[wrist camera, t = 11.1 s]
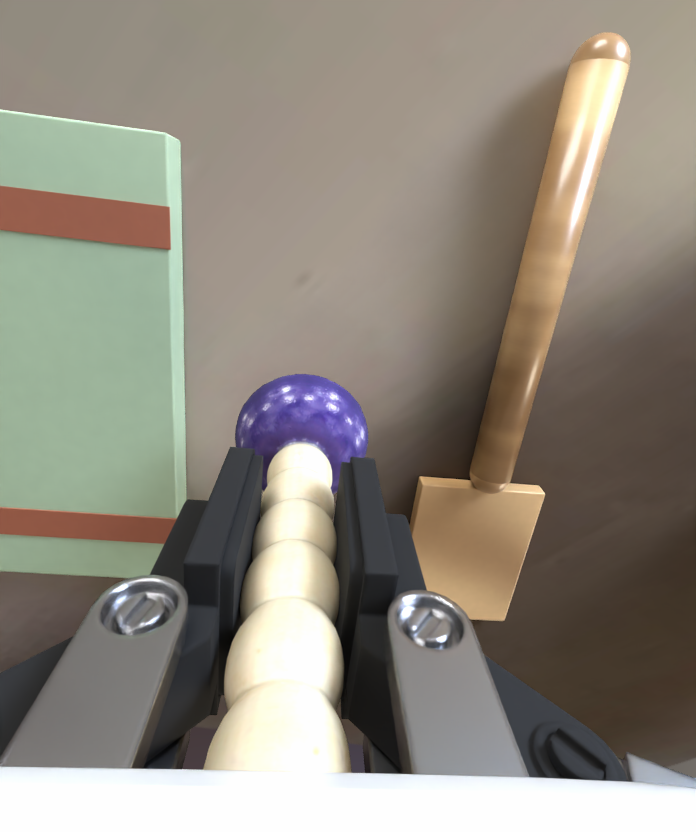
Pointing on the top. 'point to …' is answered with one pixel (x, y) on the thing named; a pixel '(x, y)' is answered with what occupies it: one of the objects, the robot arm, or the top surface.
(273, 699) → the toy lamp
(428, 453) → the top surface
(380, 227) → the top surface
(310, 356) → the top surface
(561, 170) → the wooden spatula
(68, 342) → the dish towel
